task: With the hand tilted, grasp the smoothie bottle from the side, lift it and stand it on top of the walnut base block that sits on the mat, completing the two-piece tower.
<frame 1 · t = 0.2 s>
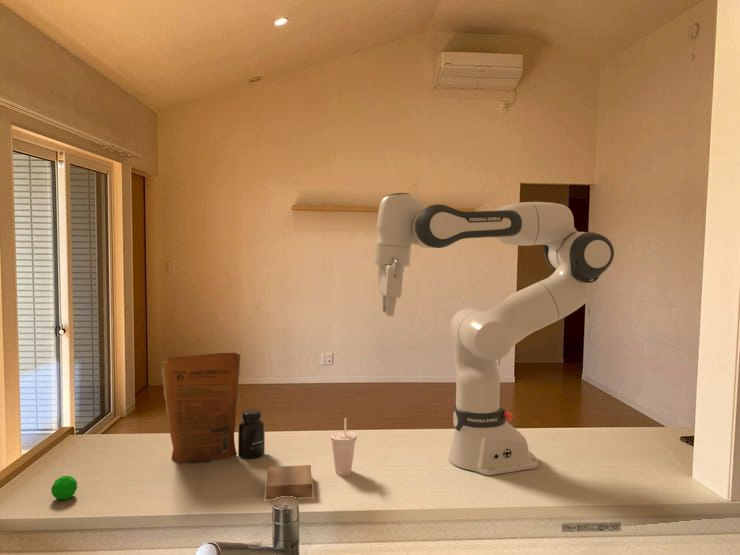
hand: (387, 313, 138), 39 cm above the worktop, tool pointing down, fingers open, 8 cm apart
base block: (289, 487, 127), resting on mat
pancake mix bag: (204, 460, 144), on the worktop
mat: (284, 490, 127), on the worktop
smoothie: (343, 474, 136), on the worktop
supplement bottle: (251, 456, 147), on the worktop
polyhedron: (64, 499, 123), on the worktop
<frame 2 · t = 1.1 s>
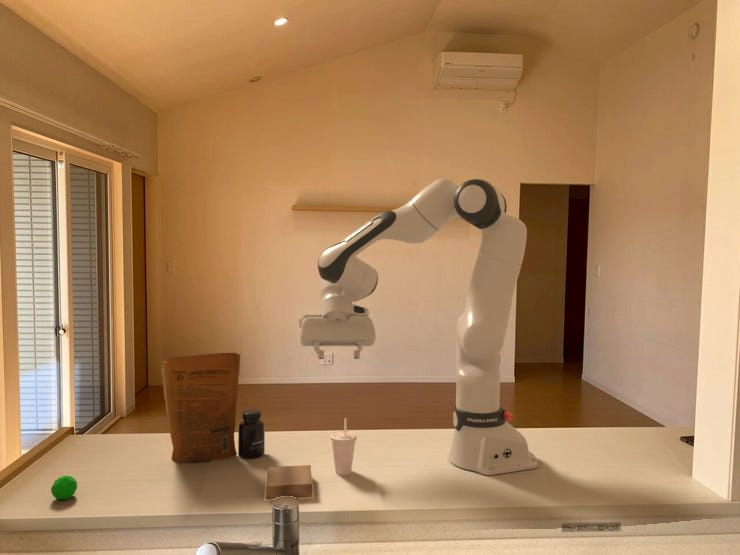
hand: (339, 358, 146), 26 cm above the worktop, tool tilted 45°, fingers open, 8 cm apart
nothing on the worktop moved.
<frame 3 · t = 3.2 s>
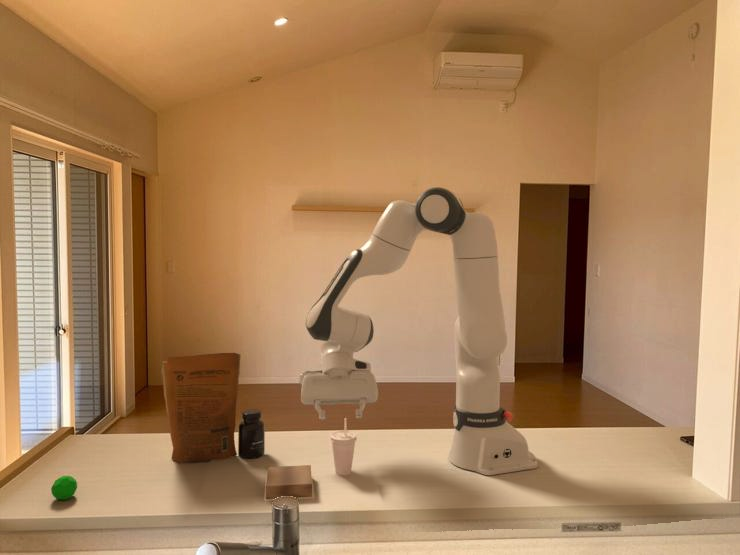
hand: (340, 417, 142), 12 cm above the worktop, tool tilted 45°, fingers open, 8 cm apart
nothing on the worktop moved.
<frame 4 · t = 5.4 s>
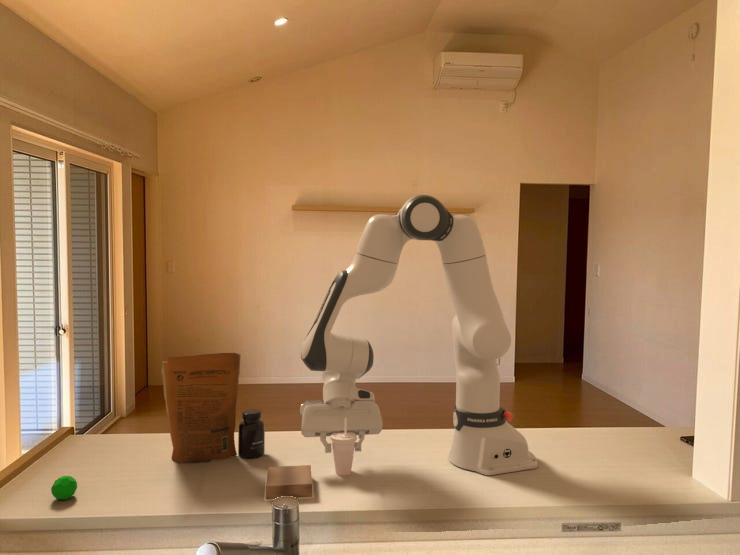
hand: (343, 451, 135), 6 cm above the worktop, tool tilted 45°, fingers closed on smoothie, 6 cm apart
smoothie: (343, 474, 136), on the worktop, touching gripper
everything else where it was.
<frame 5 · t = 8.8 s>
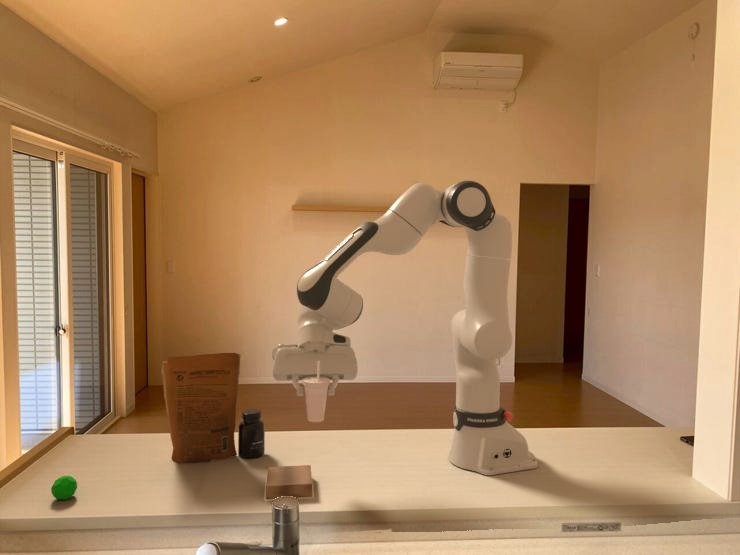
hand: (315, 394, 130), 21 cm above the worktop, tool tilted 45°, fingers closed on smoothie, 6 cm apart
smoothie: (315, 420, 131), point 15 cm above the worktop, touching gripper
everything else where it was.
when the fingers open (11 cm above the worktop, at t = 12.3 s): smoothie moves 1 cm, resting on base block.
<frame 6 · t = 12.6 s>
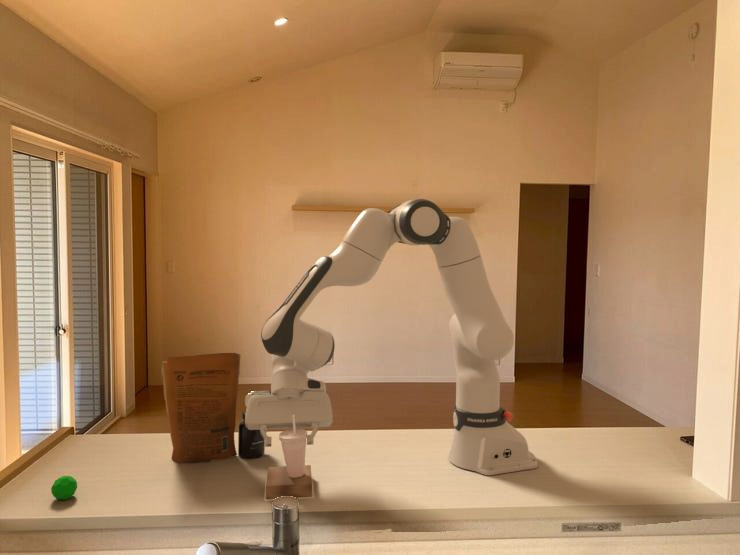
hand: (289, 444, 126), 11 cm above the worktop, tool tilted 45°, fingers open, 8 cm apart
base block: (289, 487, 127), resting on mat, touching smoothie
smoothie: (296, 474, 127), point 3 cm above the worktop, touching base block, gripper
everything else where it was.
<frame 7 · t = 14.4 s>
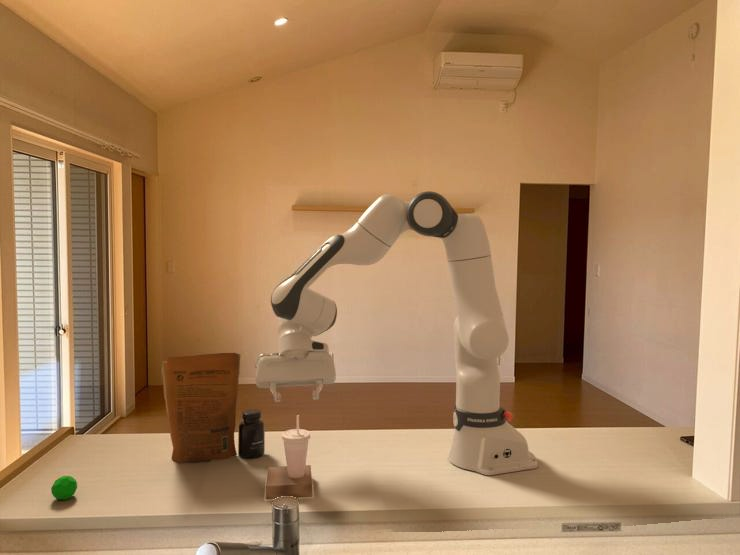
hand: (296, 399, 138), 17 cm above the worktop, tool tilted 45°, fingers open, 8 cm apart
smoothie: (296, 475, 127), point 3 cm above the worktop, touching base block
everything else where it was.
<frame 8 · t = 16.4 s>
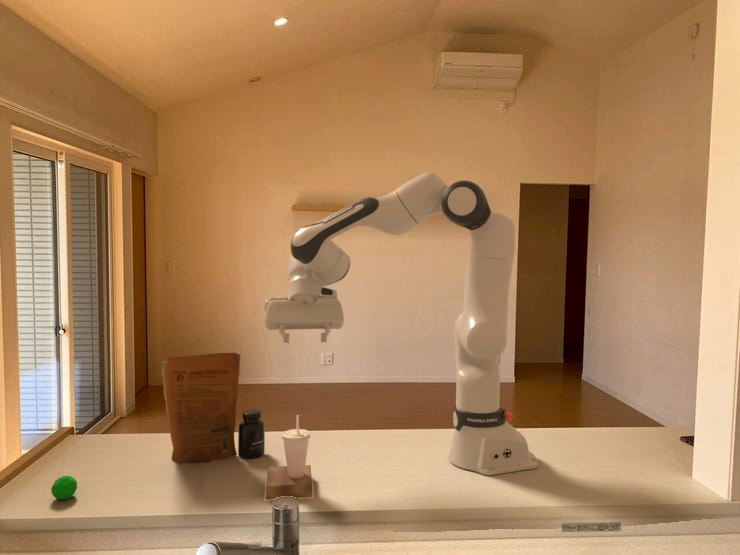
hand: (305, 341, 141), 31 cm above the worktop, tool tilted 45°, fingers open, 8 cm apart
nothing on the worktop moved.
at the end: smoothie inside the target area on the base block (1.6 cm from its centre), point 2.8 cm above the base block's base; smoothie tilted 0°; the gripper is holding nothing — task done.
